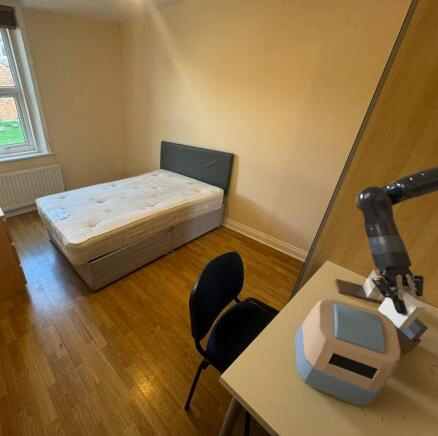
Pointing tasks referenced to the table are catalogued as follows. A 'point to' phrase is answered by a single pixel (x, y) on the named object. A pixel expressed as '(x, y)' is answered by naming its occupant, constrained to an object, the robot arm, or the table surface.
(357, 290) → the brown base with block
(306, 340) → the alarm clock
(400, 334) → the grey shelf
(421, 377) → the table surface
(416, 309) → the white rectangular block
